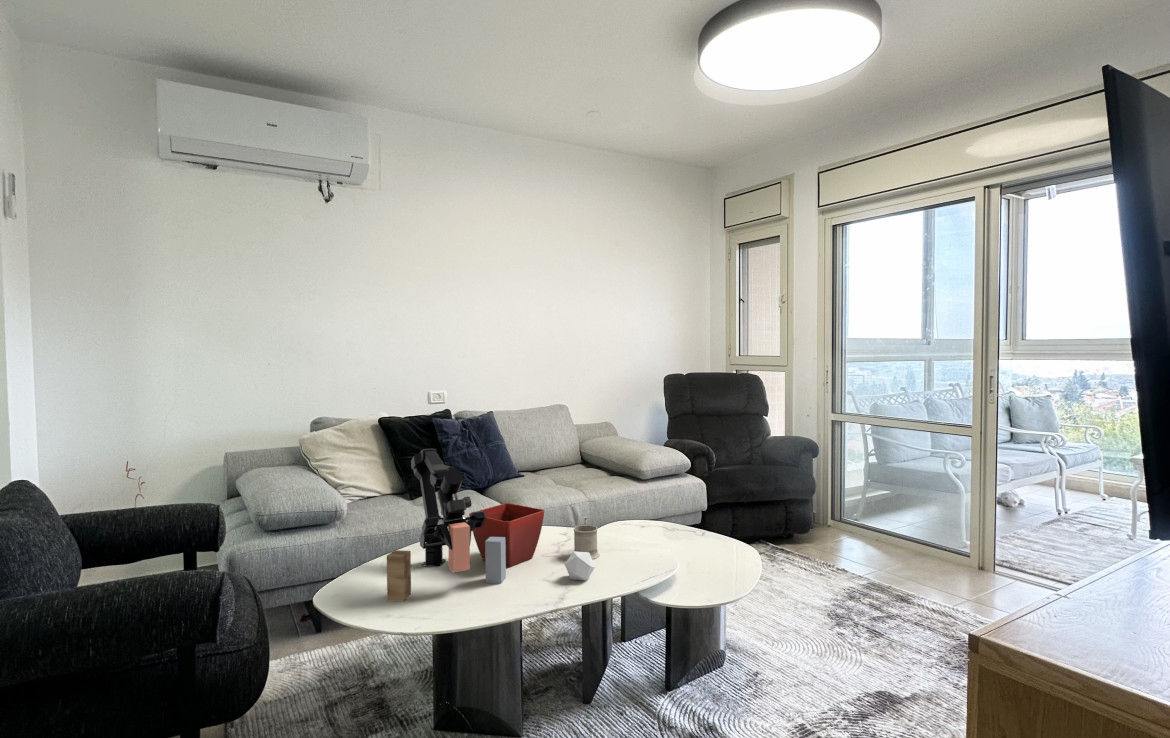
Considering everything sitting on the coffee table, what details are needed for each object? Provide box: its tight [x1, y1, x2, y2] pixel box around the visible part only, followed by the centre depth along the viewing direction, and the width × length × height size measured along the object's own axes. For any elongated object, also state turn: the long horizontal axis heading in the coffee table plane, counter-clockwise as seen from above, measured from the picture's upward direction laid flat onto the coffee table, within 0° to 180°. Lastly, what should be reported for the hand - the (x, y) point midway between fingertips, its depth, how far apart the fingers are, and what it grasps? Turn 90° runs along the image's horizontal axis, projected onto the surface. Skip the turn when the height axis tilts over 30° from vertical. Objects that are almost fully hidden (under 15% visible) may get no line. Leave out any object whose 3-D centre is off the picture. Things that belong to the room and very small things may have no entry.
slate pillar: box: [484, 537, 507, 585], centre depth 190 cm, size 5×5×13 cm
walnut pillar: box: [386, 549, 412, 602], centre depth 177 cm, size 5×5×13 cm
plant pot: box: [468, 502, 545, 568], centre depth 210 cm, size 19×19×17 cm
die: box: [564, 550, 596, 582], centre depth 191 cm, size 8×9×10 cm
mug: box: [573, 516, 601, 561], centre depth 216 cm, size 14×10×12 cm
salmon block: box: [448, 522, 471, 573], centre depth 181 cm, size 5×5×13 cm
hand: (460, 547), depth 180 cm, fingers closed on salmon block, 5 cm apart
